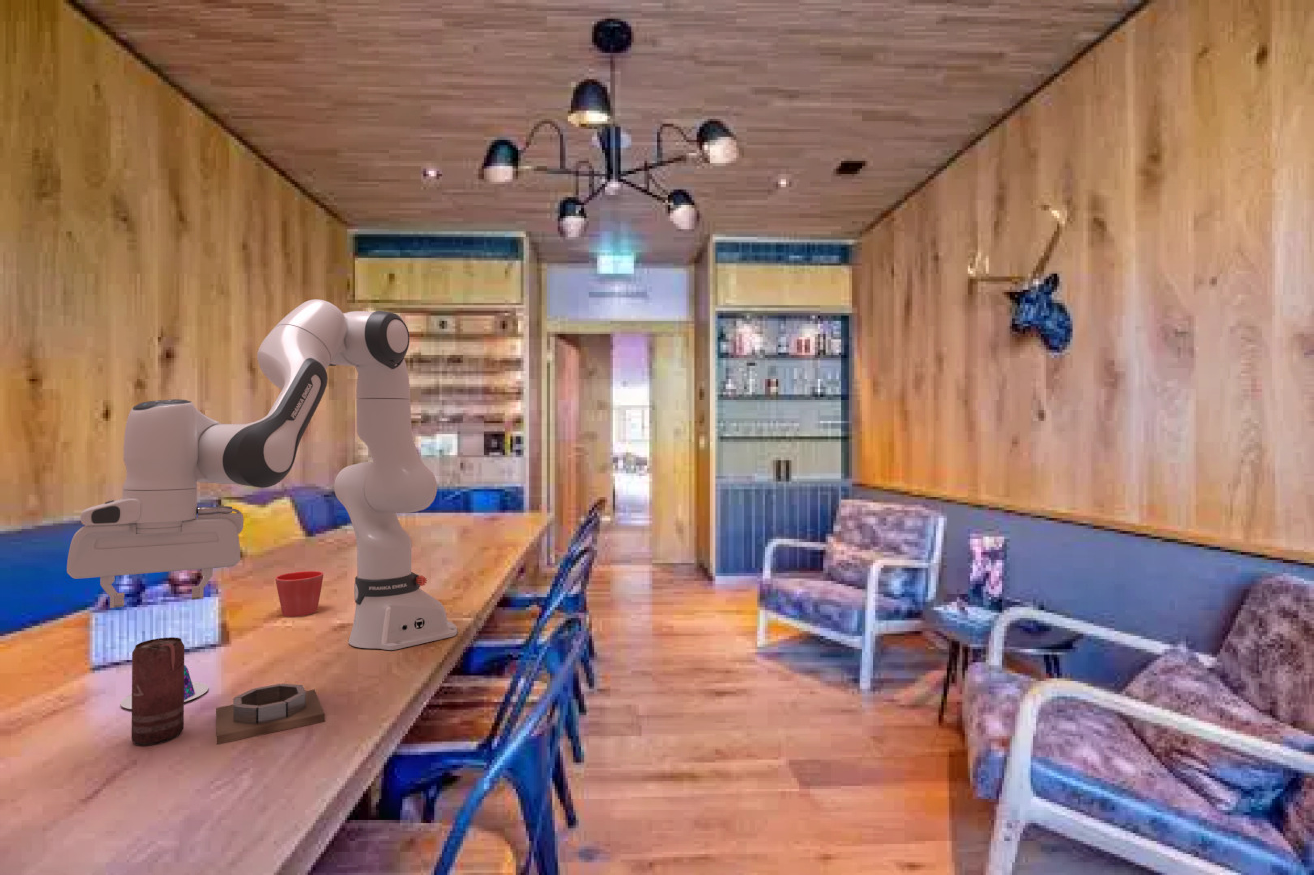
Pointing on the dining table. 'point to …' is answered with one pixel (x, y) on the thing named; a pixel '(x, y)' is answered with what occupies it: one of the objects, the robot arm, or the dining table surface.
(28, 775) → the dining table surface
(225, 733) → the holder board
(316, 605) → the flower pot
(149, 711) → the can
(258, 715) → the ring
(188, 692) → the patterned hat
